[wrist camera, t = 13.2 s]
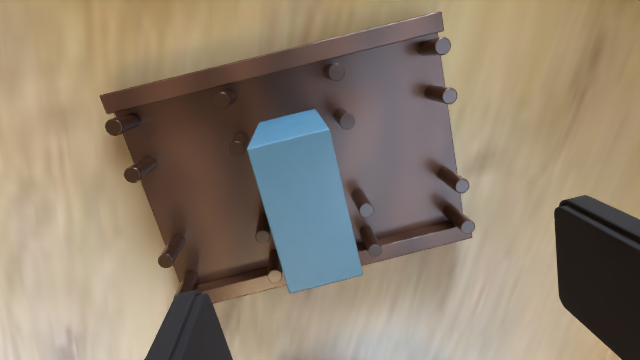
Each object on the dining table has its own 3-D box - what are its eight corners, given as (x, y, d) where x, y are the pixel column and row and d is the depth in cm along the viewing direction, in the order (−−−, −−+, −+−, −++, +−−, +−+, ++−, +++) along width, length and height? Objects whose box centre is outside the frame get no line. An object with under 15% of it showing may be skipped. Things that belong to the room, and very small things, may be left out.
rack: (190, 293, 32) (176, 328, 28) (114, 92, 27) (83, 98, 23) (459, 225, 32) (485, 249, 28) (428, 15, 28) (454, 6, 23)
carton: (258, 122, 27) (246, 149, 19) (315, 108, 27) (329, 128, 19) (288, 227, 30) (289, 294, 21) (340, 214, 30) (363, 275, 21)
